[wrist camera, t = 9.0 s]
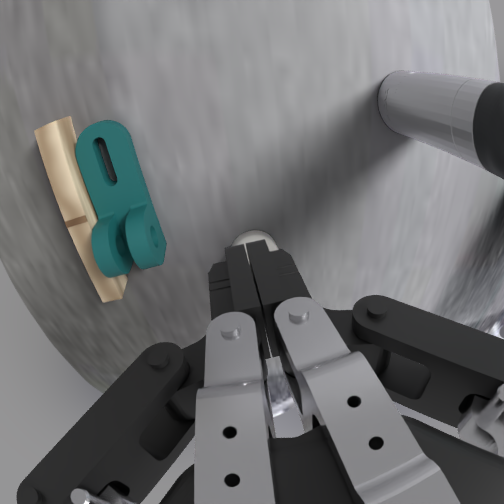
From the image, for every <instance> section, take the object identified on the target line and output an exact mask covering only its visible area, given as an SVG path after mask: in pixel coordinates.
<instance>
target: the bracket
mask: <svg viewBox="0 0 504 504" xmlns="http://www.w3.org/2000/svg"><path fill="white" fill-rule="evenodd" d="M99 137H101V138H103V139H104V140H105V142H106V146H107V149H108V152H109V155H110V158H111V161H112V164H113V167H114V170H115V173H116V176H117V181H112V180H111V179H110V178H109V175H108V172H107V169H106V166H105V163H104V160H103V157H102V154H101V151H100V148H99V145H98V138H99ZM75 153H76V159H77V162H78V165H79V168H80V171H81V174H82V176H83V179H84V182H85V185H86V187H87V190H88V192H89V195H90V198H91V200H92V203H93V205H94V208H95V210H96V213H97V215H98V221H97V223H96V224H95V226H94V228H93V230H92V235H91V244H92V251H93V255H94V258H95V261H96V263H97V265H98V267H99V269H100V271H101V272H102V273H103V274H104V275H105V276H106V277H108V278H112V277H116V276H120V275H124V274H128V273H129V272H130V270H131V267H132V263H133V260H134V261H135V263H136V264H137V265H138V267H139V268H141V269H147V268H151V267H155V266H159V265H162V264H163V262H164V256H165V250H166V244H167V243H166V240H165V238H164V235H163V232H162V229H161V227H160V224H159V221H158V218H157V215H156V213H155V210H154V207H153V204H152V201H151V198H150V195H149V192H148V189H147V186H146V183H145V180H144V177H143V174H142V171H141V168H140V165H139V162H138V158H137V155H136V152H135V149H134V145H133V142H132V139H131V136H130V134H129V132H128V130H127V129H126V128H125V127H124V126H123V125H121V124H120V123H118V122H115V121H111V120H104V121H100V122H97V123H95V124H92V125H90V126H89V127H87V128H86V129H85V130H84V131H83V132H82V133H81V134H80V136H79V138H78V140H77V143H76V149H75Z"/></svg>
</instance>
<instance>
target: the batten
mask: <svg viewBox="0 0 504 504" xmlns="http://www.w3.org/2000/svg"><path fill="white" fill-rule="evenodd" d="M34 132H35V135H36V139H37V143H38V146H39V149H40V153H41V156H42V159H43V162H44V166H45V169H46V172H47V175H48V178H49V180H50V183H51V186H52V189H53V192H54V194H55V197H56V200H57V203H58V205H59V208H60V210H61V213H62V215H63V218H64V220H65V224H66V227H67V228H68V230H69V232H70V235H71V237H72V239H73V242H74V244H75V246H76V248H77V251H78V253H79V255H80V257H81V259H82V261H83V264H84V266H85V268H86V270H87V272H88V274H89V276H90V278H91V280H92V282H93V284H94V286H95V288H96V290H97V292H98V294H99V296H100V297H101V299H102V301H103V302H108V301H113V300H118V299H122V297H123V294H124V290H125V287H126V283H127V280H128V279H127V276H126V274H124V275H120V276H116V277H112V278H108V277H106V276H105V275H104V274H103V273H102V272H101V271H100V269H99V267H98V265H97V263H96V261H95V258H94V255H93V251H92V244H91V235H92V230H93V228H94V226H95V224H96V223H97V221H98V215H97V213H96V210H95V208H94V205H93V203H92V200H91V198H90V195H89V192H88V190H87V187H86V185H85V182H84V179H83V176H82V174H81V171H80V168H79V165H78V162H77V159H76V153H75V149H76V143H77V139H76V135H75V132H74V128H73V124H72V120H71V116H69V117H66V118H63V119H59V120H56V121H54V122H52V123H49V124H47V125H45V126H43V127H41V128H39V129H37V130H35V131H34Z"/></svg>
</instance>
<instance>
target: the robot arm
mask: <svg viewBox="0 0 504 504" xmlns="http://www.w3.org/2000/svg"><path fill="white" fill-rule="evenodd" d="M378 106H379V111H380V114H381V117H382V119H383V120H384V122H385V123H386V125H387V126H388V127H389V128H390V129H392V130H393V131H395V132H397V133H399V134H402V135H405V136H408V137H410V138H413V139H415V140H418V141H421V142H423V143H426V144H428V145H431V146H433V147H436V148H438V149H441V150H443V151H445V152H448V153H450V154H452V155H455V156H457V157H459V158H461V159H464V160H466V161H468V162H470V163H473V164H475V165H477V166H479V167H481V168H483V169H485V170H487V171H489V172H491V173H493V174H495V175H497V176H499V177H501V178H502V179H504V83H500V82H495V81H489V80H484V79H477V78H471V77H464V76H456V75H448V74H439V73H428V72H415V71H397V72H394V73H392V74H390V75H389V76H388V77H386V78H385V80H384V81H383V83H382V84H381V87H380V89H379V94H378ZM246 249H247V254H248V257H247V254H246V250H245V246H244V244H240V245H236V246H231V247H227V248H225V253H226V260H227V261H225V262H221V263H216V264H213V266H212V268H211V270H210V271H209V273H208V275H209V291H210V306H211V320H212V321H211V323H210V324H209V325H208V327H207V331H206V335H205V336H204V337H203V338H202V339H201V340H199V341H198V342H196V343H194V344H192V345H190V346H188V347H186V348H184V349H181V348H180V347H179V346H177V345H176V344H173V343H169V342H163V343H158V344H155V345H152V346H150V347H149V348H147V349H146V350H145V351H144V352H143V353H142V354H141V355H140V356H139V357H138V358H137V359H136V360H135V361H134V362H133V363H132V364H131V365H130V366H129V367H128V368H127V369H126V371H125V372H124V373H123V374H122V375H121V376H120V377H119V378H118V379H117V380H116V381H115V382H114V383H113V384H112V385H111V386H110V387H109V389H108V390H107V391H106V392H105V393H104V394H103V395H102V396H101V397H100V398H99V399H98V400H97V401H96V402H95V403H94V405H93V406H92V407H91V408H90V409H89V410H88V411H87V412H86V413H85V414H84V415H83V416H82V417H81V418H80V420H79V421H78V422H77V423H76V424H75V425H74V426H73V427H72V428H71V429H70V430H69V431H68V432H67V433H66V435H65V436H64V437H63V438H62V439H61V440H60V441H59V442H58V443H57V444H56V445H55V446H54V448H53V449H52V450H51V451H50V452H49V453H48V454H47V455H46V456H45V457H44V458H43V459H42V460H41V462H40V463H39V464H38V465H37V466H36V467H35V468H34V469H33V470H32V471H31V473H30V474H29V475H28V476H27V477H26V478H25V479H24V480H23V481H22V483H21V484H20V486H19V488H18V491H17V504H140V503H141V502H142V501H143V500H144V499H145V497H146V496H147V495H148V494H149V493H150V491H151V490H152V489H153V488H154V487H155V485H156V484H157V483H158V481H159V480H160V479H161V478H162V477H163V475H164V474H165V473H166V472H167V470H168V469H169V468H170V467H171V465H172V464H173V463H174V462H175V460H176V459H177V458H178V457H179V455H180V454H181V453H182V451H183V450H184V449H185V448H186V446H187V445H188V444H189V442H190V441H191V440H192V438H193V437H194V436H195V460H194V461H195V463H194V464H193V465H191V466H190V467H189V468H188V469H186V470H185V471H184V472H183V474H181V475H180V476H179V478H178V479H177V480H176V481H175V483H174V484H173V486H172V487H171V488H170V490H169V491H168V492H167V494H166V495H165V496H164V498H163V499H162V500H161V502H160V503H159V504H504V339H501V338H498V337H496V336H493V335H490V334H487V333H485V332H482V331H479V330H476V329H474V328H471V327H468V326H465V325H463V324H460V323H457V322H454V321H452V320H449V319H446V318H443V317H441V316H438V315H435V314H432V313H430V312H427V311H424V310H421V309H419V308H416V307H413V306H410V305H408V304H405V303H402V302H399V301H396V300H394V299H391V298H388V297H385V296H381V295H371V296H366V297H364V298H362V299H360V300H358V301H357V302H356V303H355V305H354V307H353V310H329V309H325V308H323V307H322V306H321V305H320V303H319V302H317V301H316V300H314V299H312V298H311V296H310V294H309V292H308V290H307V288H306V285H305V283H304V281H303V279H302V277H301V275H300V273H299V272H298V269H297V267H296V265H295V263H294V261H293V259H292V257H291V255H290V254H288V253H287V252H285V251H284V250H282V249H279V250H275V251H269V248H268V246H267V243H266V241H265V239H263V240H258V241H254V242H249V243H246ZM248 259H249V261H248ZM249 264H250V265H249ZM265 330H266V332H265ZM266 334H267V337H266ZM267 338H268V341H269V345H270V349H271V353H272V357H276V356H280V360H281V363H282V368H283V374H284V377H285V380H286V383H287V385H288V388H289V390H290V393H291V395H292V398H293V400H294V403H295V406H296V408H297V411H298V413H299V416H300V418H301V421H302V424H303V428H304V431H305V433H304V434H302V435H301V436H298V437H295V438H276V433H275V428H274V421H273V414H272V406H271V399H270V392H269V385H268V379H267V375H268V369H267V364H266V360H265V359H268V358H271V357H270V352H269V347H268V342H267ZM397 354H398V355H397ZM402 356H403V357H402ZM409 359H410V360H409ZM414 361H415V362H414ZM419 363H420V364H419ZM393 401H394V402H397V403H399V404H401V405H403V406H405V407H408V408H410V409H412V410H415V411H417V412H419V413H422V414H424V415H426V416H429V417H431V418H433V419H436V420H438V421H441V422H443V423H446V424H448V425H451V426H453V427H456V428H458V434H459V437H460V439H458V438H456V437H453V436H451V435H449V434H447V433H444V432H442V431H440V430H438V429H436V428H433V427H431V426H429V425H427V424H425V423H423V422H420V421H419V420H416V419H414V418H411V417H408V416H404V415H401V414H400V413H399V411H398V409H397V408H396V406H395V405H394V403H393Z"/></svg>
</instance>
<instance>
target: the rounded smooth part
mask: <svg viewBox="0 0 504 504" xmlns="http://www.w3.org/2000/svg"><path fill="white" fill-rule="evenodd" d="M263 239H265V241H266V243H267V246H268V248H269V251H275V250H278V248H277V245H276V243H275V241H274V239H273V238H272V237H271V236H270V235H269V234H267V233H266V232H263V231H259V230H252V231H247V232H245V233H243V234H241V235H239V236H238V237H237V238H236V239H235V240H234V242H233V244H232V246H236V245H240V244H244V246H245V250H246V254H247V249H246V243H249V242H254V241H258V240H263ZM247 257H248V254H247ZM248 261H249V259H248ZM249 265H250V264H249Z"/></svg>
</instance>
